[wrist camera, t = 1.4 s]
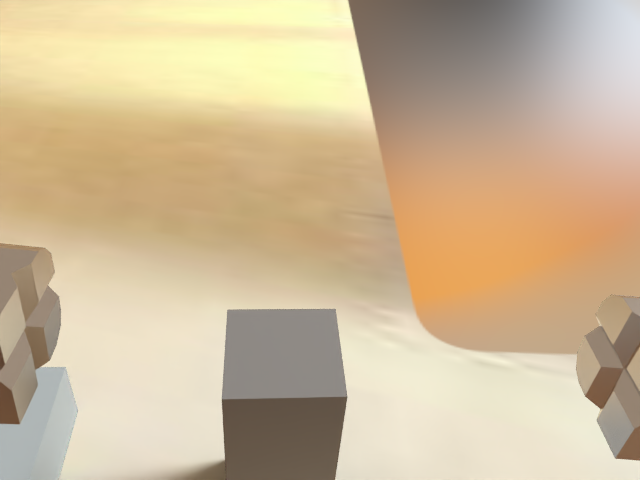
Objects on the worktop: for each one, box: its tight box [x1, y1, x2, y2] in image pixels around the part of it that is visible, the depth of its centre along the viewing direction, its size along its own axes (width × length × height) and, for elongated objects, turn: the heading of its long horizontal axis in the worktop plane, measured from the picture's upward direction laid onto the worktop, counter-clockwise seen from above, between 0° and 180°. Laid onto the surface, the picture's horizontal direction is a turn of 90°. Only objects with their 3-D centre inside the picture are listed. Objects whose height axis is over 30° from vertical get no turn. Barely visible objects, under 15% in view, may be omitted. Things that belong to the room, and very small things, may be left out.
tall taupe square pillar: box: [222, 309, 347, 480], centre depth 30 cm, size 5×5×12 cm
